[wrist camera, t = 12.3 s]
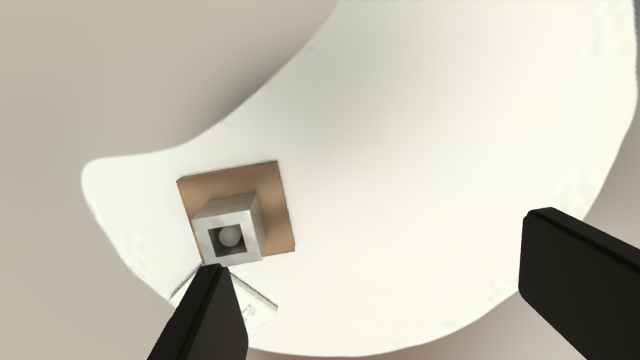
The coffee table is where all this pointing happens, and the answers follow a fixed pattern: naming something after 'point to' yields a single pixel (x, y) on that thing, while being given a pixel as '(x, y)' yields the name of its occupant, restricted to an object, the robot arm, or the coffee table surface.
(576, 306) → the robot arm
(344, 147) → the coffee table surface
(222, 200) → the grey hollow cube
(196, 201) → the shaft block
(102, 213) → the coffee table surface
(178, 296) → the external hard drive
